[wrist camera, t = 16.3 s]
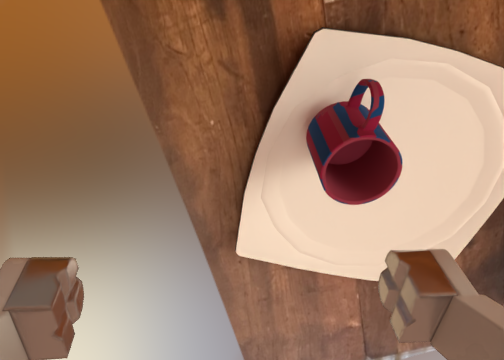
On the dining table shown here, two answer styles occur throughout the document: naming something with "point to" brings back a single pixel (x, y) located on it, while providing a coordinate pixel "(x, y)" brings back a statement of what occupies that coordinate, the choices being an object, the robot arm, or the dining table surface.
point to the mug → (354, 148)
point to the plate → (406, 140)
